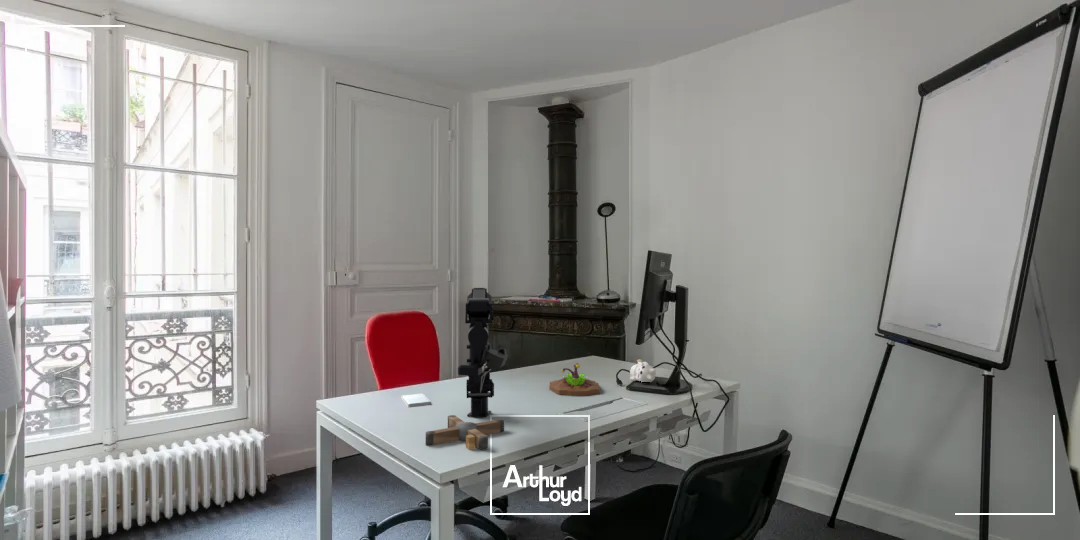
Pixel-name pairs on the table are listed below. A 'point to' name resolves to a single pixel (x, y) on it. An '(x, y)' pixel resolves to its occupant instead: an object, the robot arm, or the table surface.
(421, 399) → the hard drive
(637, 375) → the cat figurine
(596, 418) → the table surface
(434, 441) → the stool base
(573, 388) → the plant
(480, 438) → the folding leg
